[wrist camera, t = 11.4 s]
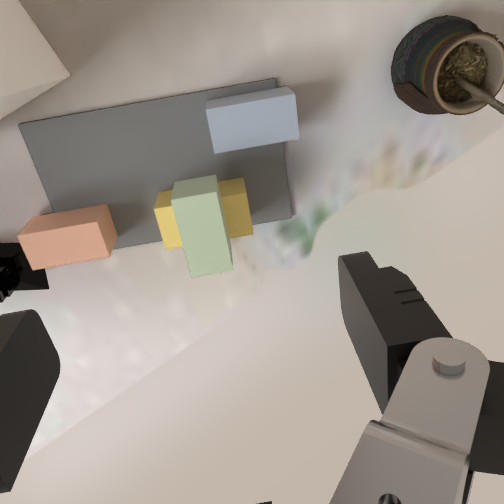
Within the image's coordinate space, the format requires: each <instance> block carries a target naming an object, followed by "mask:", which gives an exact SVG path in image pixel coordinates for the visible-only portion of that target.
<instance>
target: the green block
mask: <svg viewBox="0 0 504 504" xmlns="http://www.w3.org/2000/svg"><path fill="white" fill-rule="evenodd" d="M171 204H172V208H173V211H174V215H175V219H176V223H177V226H178V230H179V234H180V237H181V241H182V245H183V249H184V252H185V256H186V260H187V263H188V267H189V271H190V275H191V278H193V277H199V276H205V275H210V274H216V273H221V272H227V271H233V262H232V249H231V243H230V239H229V234H228V229H227V224H226V219H225V215H224V210H223V205H222V200H221V196H220V191H219V186H218V181H217V176H216V175H210V176H204V177H199V178H193V179H188V180H182V181H177V182H174V186H173V191H172V195H171Z"/></svg>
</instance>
